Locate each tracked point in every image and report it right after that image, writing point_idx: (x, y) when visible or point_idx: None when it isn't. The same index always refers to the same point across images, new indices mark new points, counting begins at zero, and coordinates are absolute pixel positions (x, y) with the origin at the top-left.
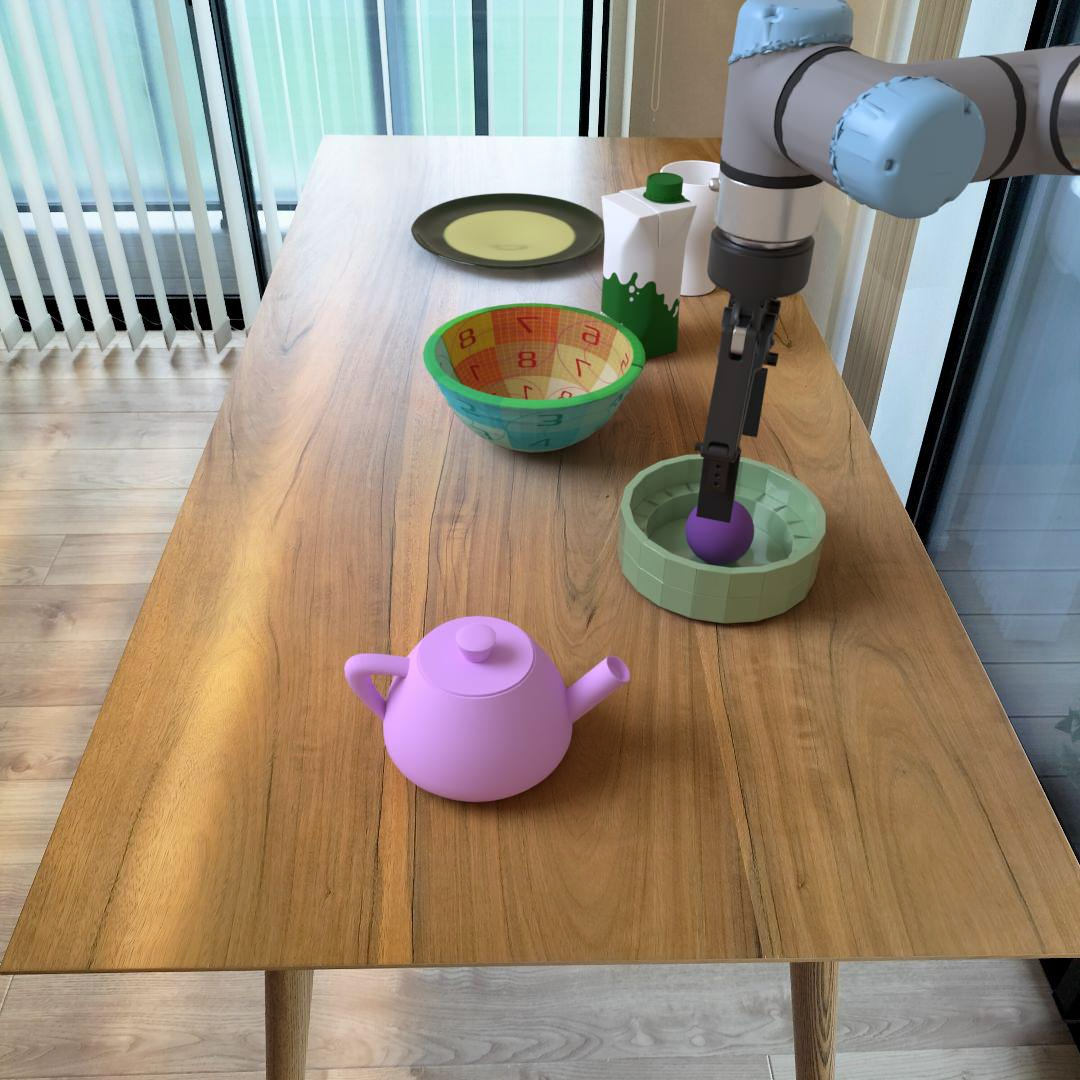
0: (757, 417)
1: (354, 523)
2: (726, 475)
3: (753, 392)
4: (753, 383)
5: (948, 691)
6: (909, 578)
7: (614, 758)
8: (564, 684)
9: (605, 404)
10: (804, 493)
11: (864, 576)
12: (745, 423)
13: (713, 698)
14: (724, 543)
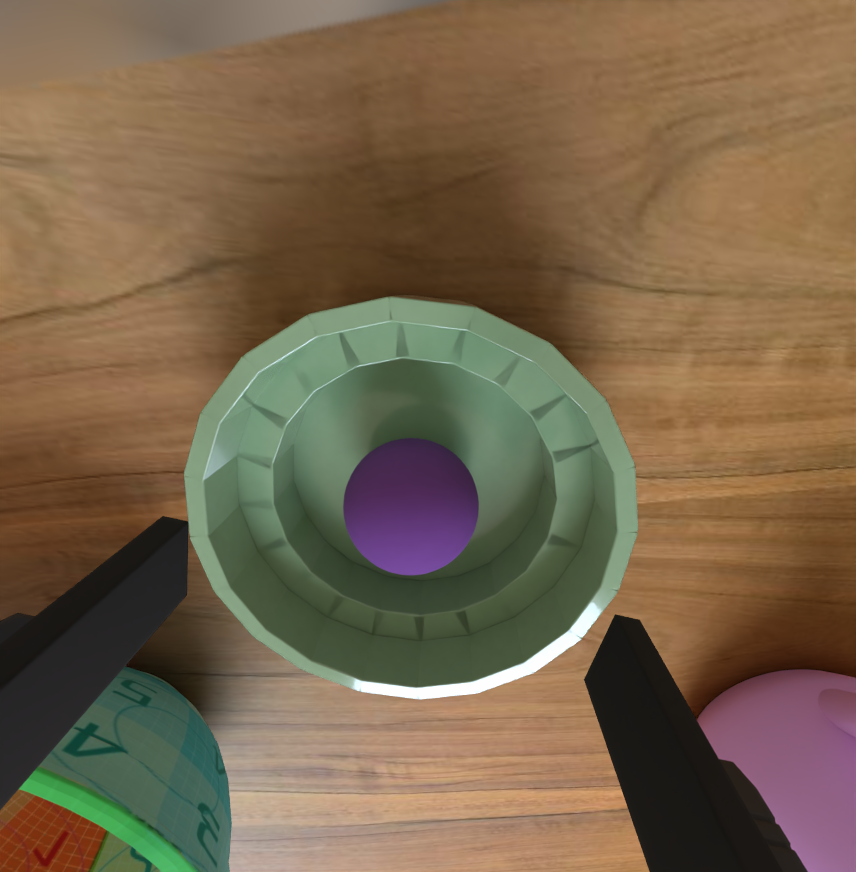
0: (139, 571)
1: (396, 852)
2: (804, 867)
3: (54, 677)
4: (11, 724)
5: (794, 37)
6: (417, 69)
7: (839, 609)
8: (848, 743)
9: (124, 772)
10: (304, 344)
11: (423, 185)
12: (161, 581)
13: (746, 488)
14: (477, 511)
